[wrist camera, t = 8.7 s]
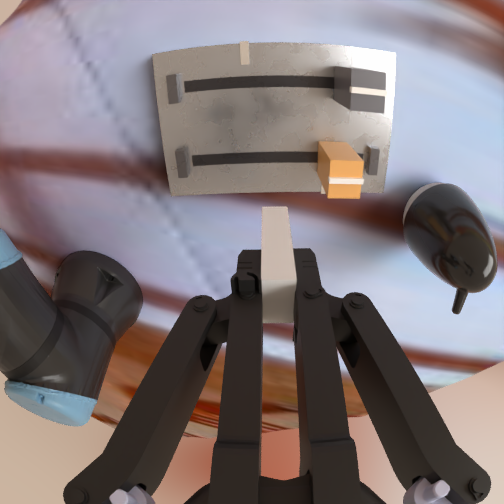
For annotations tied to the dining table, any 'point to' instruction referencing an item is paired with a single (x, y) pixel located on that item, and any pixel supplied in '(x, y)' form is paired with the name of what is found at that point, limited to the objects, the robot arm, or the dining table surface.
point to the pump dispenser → (451, 239)
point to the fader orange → (339, 169)
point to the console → (264, 116)
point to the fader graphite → (360, 89)
